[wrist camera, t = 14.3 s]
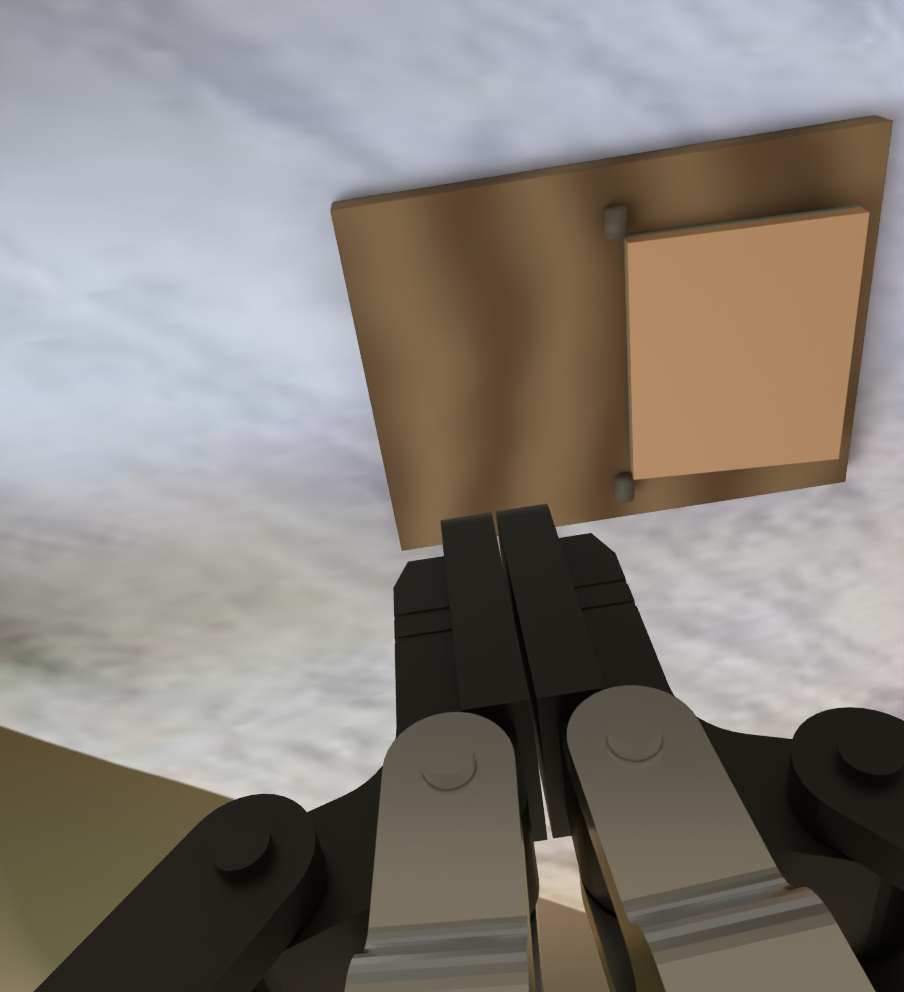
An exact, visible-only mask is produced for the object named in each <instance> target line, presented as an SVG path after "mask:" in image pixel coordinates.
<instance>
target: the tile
mask: <svg viewBox="0 0 904 992" xmlns="http://www.w3.org/2000/svg"><path fill="white" fill-rule="evenodd" d="M868 220H869V212H868V211H867V210H865V209H864V208H862V207H861V206H859V205H855V206H848V207H840V208H832V209H824V210H817V211H809V212H801V213H793V214H786V215H778V216H770V217H763V218H755V219H747V220H739V221H732V222H724V223H716V224H708V225H701V226H693V227H685V228H677V229H670V230H662V231H654V232H647V233H639V234H631V235H628V236H627V237H625V238H624V270H625V305H626V340H627V375H628V410H629V445H630V469H631V472H632V476H633V479H634V480H637V479H647V478H657V477H667V476H676V475H686V474H696V473H706V472H716V471H726V470H736V469H745V468H755V467H765V466H775V465H785V464H795V463H805V462H814V461H824V460H834V459H839V452H840V444H841V436H842V428H843V420H844V412H845V404H846V396H847V388H848V380H849V372H850V364H851V356H852V348H853V340H854V332H855V324H856V316H857V308H858V300H859V292H860V284H861V276H862V268H863V260H864V252H865V244H866V236H867V228H868Z"/></svg>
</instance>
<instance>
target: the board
mask: <svg viewBox="0 0 904 992" xmlns="http://www.w3.org/2000/svg"><path fill="white" fill-rule="evenodd" d="M892 123H893V120H889V119H886V118H882V117H879V116H875V115H874V116H868V117H862V118H856V119H850V120H843V121H837V122H831V123H825V124H818V125H812V126H806V127H800V128H794V129H787V130H781V131H775V132H769V133H762V134H756V135H750V136H744V137H738V138H731V139H725V140H719V141H713V142H707V143H700V144H694V145H688V146H682V147H675V148H669V149H663V150H657V151H651V152H644V153H638V154H632V155H626V156H619V157H613V158H607V159H601V160H595V161H588V162H582V163H576V164H570V165H563V166H557V167H551V168H545V169H539V170H532V171H526V172H520V173H514V174H507V175H501V176H495V177H489V178H483V179H476V180H470V181H464V182H458V183H451V184H445V185H439V186H433V187H427V188H420V189H414V190H408V191H402V192H395V193H389V194H383V195H377V196H371V197H364V198H358V199H352V200H346V201H339V202H333V203H332V206H331V210H330V211H331V216H332V221H333V226H334V230H335V235H336V240H337V245H338V249H339V254H340V259H341V264H342V268H343V273H344V278H345V283H346V287H347V292H348V297H349V302H350V306H351V311H352V316H353V321H354V325H355V330H356V335H357V340H358V344H359V349H360V354H361V359H362V363H363V368H364V373H365V378H366V382H367V387H368V392H369V397H370V401H371V406H372V411H373V416H374V420H375V425H376V430H377V435H378V439H379V444H380V449H381V454H382V458H383V463H384V468H385V473H386V477H387V482H388V487H389V492H390V496H391V501H392V506H393V511H394V515H395V520H396V525H397V530H398V534H399V539H400V544H401V549H402V551H403V550H410V549H416V548H423V547H429V546H435V545H442V544H443V541H442V532H441V522H440V520H446V519H452V518H458V517H465V516H471V515H478V514H484V513H490V512H491V513H492V517H493V522H494V527H495V531H496V536H498V529H497V521H496V511H502V510H508V509H515V508H521V507H528V506H534V505H540V504H548V506H549V509H550V512H551V516H552V519H553V522H554V525H555V527H557V526H564V525H570V524H577V523H583V522H590V521H596V520H602V519H609V518H615V517H622V516H628V515H635V514H641V513H647V512H654V511H660V510H667V509H673V508H680V507H686V506H692V505H699V504H705V503H712V502H718V501H725V500H731V499H737V498H744V497H750V496H757V495H763V494H769V493H776V492H782V491H789V490H795V489H802V488H808V487H814V486H821V485H827V484H834V483H840V482H845V479H846V472H847V464H848V456H849V449H850V441H851V434H852V426H853V418H854V411H855V403H856V396H857V388H858V381H859V373H860V365H861V358H862V350H863V343H864V335H865V328H866V320H867V312H868V305H869V297H870V290H871V282H872V274H873V267H874V259H875V252H876V244H877V237H878V229H879V221H880V214H881V206H882V199H883V191H884V184H885V176H886V168H887V161H888V153H889V146H890V138H891V131H892ZM855 205H859V206H861V207H862V208H864V209H865V210H867V211H868V212H869V220H868V228H867V236H866V244H865V252H864V260H863V268H862V276H861V284H860V292H859V300H858V308H857V316H856V324H855V332H854V340H853V348H852V356H851V364H850V372H849V380H848V388H847V396H846V404H845V412H844V420H843V428H842V436H841V444H840V452H839V459H834V460H824V461H814V462H805V463H795V464H785V465H775V466H765V467H755V468H745V469H736V470H726V471H716V472H706V473H696V474H686V475H676V476H667V477H657V478H647V479H637V480H634V479H633V476H632V472H631V469H630V445H629V410H628V375H627V340H626V305H625V270H624V238H625V237H627V236H628V235H631V234H639V233H647V232H654V231H662V230H670V229H677V228H685V227H693V226H701V225H708V224H716V223H724V222H732V221H739V220H747V219H755V218H763V217H770V216H778V215H786V214H793V213H801V212H809V211H817V210H824V209H832V208H840V207H848V206H855Z"/></svg>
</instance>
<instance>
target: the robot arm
mask: <svg viewBox="0 0 904 992" xmlns="http://www.w3.org/2000/svg"><path fill="white" fill-rule="evenodd" d="M496 521H497V529H498V537H499V544H500V551H499V546H498V541H497V536H496V531H495V527H494V522H493V517H492V513H491V512H490V513H484V514H478V515H471V516H465V517H458V518H452V519H446V520H440V522H441V532H442V541H443V550H444V556H442V557H435V558H429V559H423V560H416V561H410V562H408V563H407V565H406V566H405V568H404V570H403V572H402V574H401V575H400V577H399V579H398V581H397V582H396V584H395V586H394V617H395V620H394V630H395V676H396V722H397V729H396V738H395V741H394V742H393V743H392V745H391V746H390V748H389V749H388V751H387V754H386V756H385V759H384V763H383V766H382V767H381V768H380V769H379V770H378V771H377V773H376V774H375V775H374V776H373V777H371V778H370V779H369V780H368V781H367V782H366V783H364V784H363V785H361V786H360V787H358V788H357V789H356V790H354V791H352V792H350V793H348V794H346V795H344V796H342V797H340V798H338V799H336V800H333V801H331V802H329V803H327V804H324V805H322V806H320V807H318V808H316V809H313V810H311V811H309V812H306V811H305V810H304V809H303V808H302V806H300V805H299V804H298V803H296V802H295V801H293V800H291V799H289V798H286V797H284V796H279V795H275V794H257V795H250V796H246V797H242V798H239V799H236V800H233V801H231V802H228V803H227V804H225V805H223V806H221V807H219V808H217V809H216V810H214V811H213V812H212V813H210V814H209V815H207V816H206V817H205V818H204V819H203V820H202V821H201V822H200V823H198V824H197V825H196V826H195V827H194V828H193V829H192V830H191V831H190V833H189V834H187V836H185V838H184V839H183V840H182V841H181V842H180V843H179V844H178V845H177V846H176V847H175V848H174V849H173V850H172V851H171V852H170V853H169V854H168V855H167V856H166V857H165V858H164V859H163V860H162V861H161V862H160V863H159V864H158V865H157V866H156V867H155V868H154V869H153V870H152V871H151V872H150V874H148V875H147V876H146V877H145V878H144V879H143V881H142V882H140V883H139V885H138V886H137V887H136V888H135V889H134V890H133V891H132V892H131V893H130V894H129V895H128V896H127V897H126V898H125V899H124V900H123V901H122V902H121V903H120V904H119V905H118V906H117V907H116V908H115V909H114V910H113V911H112V912H111V913H110V914H109V915H108V916H107V917H106V918H105V920H103V921H102V922H101V923H100V924H99V925H98V926H97V928H96V929H94V931H93V932H92V933H91V934H90V935H89V936H88V937H87V938H86V939H85V940H84V941H83V942H82V943H81V944H80V945H79V946H78V947H77V948H76V949H75V950H74V951H73V952H72V953H71V954H70V955H69V956H68V957H67V958H66V959H65V960H64V961H63V962H62V963H61V964H60V965H59V967H57V968H56V969H55V971H53V972H52V973H51V974H50V975H49V977H48V978H47V979H46V980H45V981H44V982H43V983H42V984H41V985H40V986H39V987H38V988H37V989H36V990H35V991H34V992H544V982H543V971H542V959H541V948H540V938H539V937H540V936H539V925H538V914H537V906H536V903H537V900H538V895H539V878H538V871H537V863H536V856H535V849H534V842H535V841H542V840H547V832H546V824H545V815H544V807H543V799H542V791H541V783H540V775H541V780H542V785H543V790H544V795H545V800H546V805H547V811H548V816H549V821H550V826H551V831H552V836H553V838H559V837H565V836H572V839H573V843H574V848H575V852H576V857H577V861H578V866H579V873H580V884H581V894H582V899H583V904H584V908H585V911H586V914H587V918H588V921H589V924H590V927H591V930H592V934H593V937H594V940H595V944H596V947H597V950H598V954H599V957H600V960H601V964H602V967H603V971H604V974H605V977H606V981H607V984H608V987H609V991H610V992H904V721H903V720H901V719H899V718H896V717H894V716H892V715H889V714H886V713H883V712H879V711H876V710H870V709H865V708H853V707H847V708H835V709H830V710H826V711H823V712H820V713H817V714H815V715H814V716H812V717H810V718H808V719H807V720H806V721H805V722H804V723H802V724H801V725H800V726H799V728H798V729H797V731H796V732H795V734H794V737H793V739H786V738H777V737H768V736H759V735H751V734H743V733H738V732H732V731H729V730H725V729H722V728H719V727H716V726H714V725H712V724H709V723H707V722H705V721H703V720H702V719H700V718H698V717H696V716H695V714H694V713H693V711H692V710H691V709H690V708H689V707H688V706H687V705H686V704H684V703H683V702H682V701H680V700H679V699H678V698H676V697H675V696H674V694H673V693H672V691H671V689H670V687H669V685H668V682H667V680H666V677H665V675H664V673H663V670H662V668H661V665H660V663H659V660H658V658H657V655H656V653H655V650H654V648H653V645H652V643H651V640H650V638H649V635H648V633H647V630H646V628H645V626H644V623H643V621H642V618H641V616H640V613H639V611H638V608H637V606H635V602H634V598H633V596H632V593H631V591H630V588H629V586H628V584H626V579H625V576H624V574H623V571H622V569H621V566H620V564H619V561H618V559H617V556H616V554H615V552H613V551H612V550H611V549H610V548H608V547H607V546H606V545H605V544H604V543H602V542H601V541H600V540H599V539H598V538H596V537H595V536H594V535H593V534H592V533H588V534H582V535H575V536H569V537H563V538H558V535H557V531H556V528H555V525H554V522H553V519H552V516H551V512H550V509H549V506H548V504H540V505H534V506H528V507H521V508H515V509H508V510H502V511H496ZM500 552H501V556H500ZM501 559H502V561H501ZM538 765H539V767H538ZM539 770H540V775H539Z"/></svg>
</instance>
